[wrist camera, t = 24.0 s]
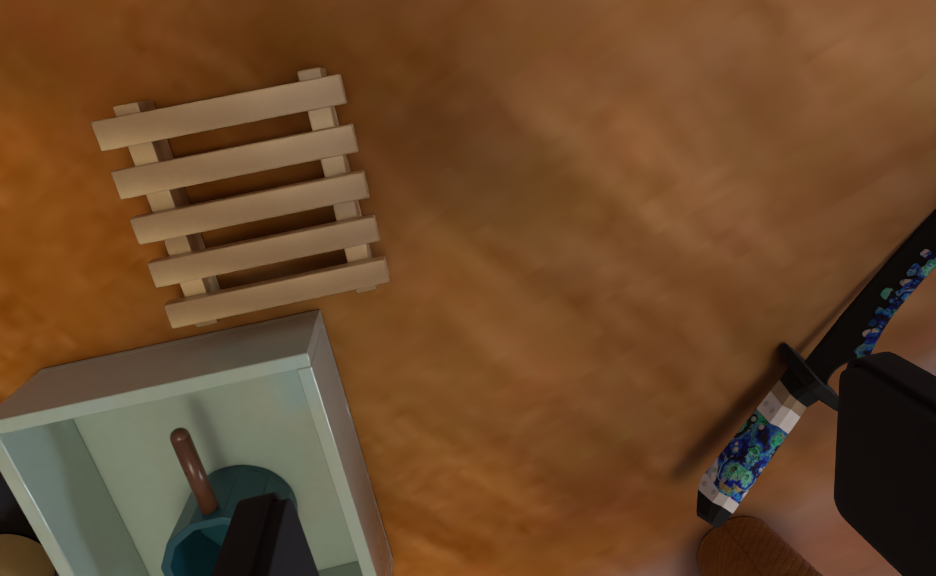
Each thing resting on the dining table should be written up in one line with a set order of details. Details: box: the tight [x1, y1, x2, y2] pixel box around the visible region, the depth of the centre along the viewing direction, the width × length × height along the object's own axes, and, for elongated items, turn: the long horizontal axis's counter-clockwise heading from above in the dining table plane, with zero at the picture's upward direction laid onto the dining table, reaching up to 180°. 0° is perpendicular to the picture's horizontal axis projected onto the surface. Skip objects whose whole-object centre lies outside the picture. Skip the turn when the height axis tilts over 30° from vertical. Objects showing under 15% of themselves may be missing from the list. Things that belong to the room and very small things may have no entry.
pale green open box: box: [0, 310, 393, 576], centre depth 36 cm, size 20×17×6 cm
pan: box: [161, 427, 298, 576], centre depth 36 cm, size 12×7×5 cm, turn 11°
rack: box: [91, 67, 390, 328], centre depth 32 cm, size 12×12×3 cm
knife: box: [697, 210, 936, 529], centre depth 39 cm, size 31×3×4 cm, turn 138°
